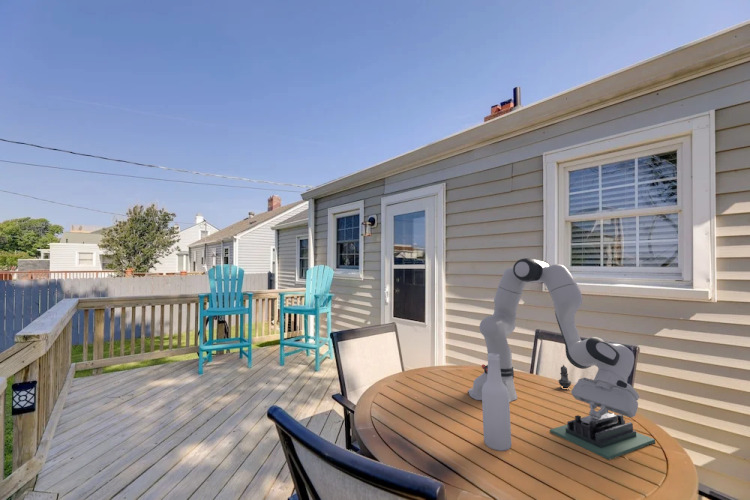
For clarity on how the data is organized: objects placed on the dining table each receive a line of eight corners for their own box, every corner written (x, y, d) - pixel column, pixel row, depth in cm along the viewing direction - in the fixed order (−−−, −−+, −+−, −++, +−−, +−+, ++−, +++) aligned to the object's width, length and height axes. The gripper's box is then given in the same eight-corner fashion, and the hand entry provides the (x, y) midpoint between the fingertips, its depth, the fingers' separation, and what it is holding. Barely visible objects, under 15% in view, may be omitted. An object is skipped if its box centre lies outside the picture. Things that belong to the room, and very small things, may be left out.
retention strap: (609, 415, 116) (609, 411, 116) (618, 418, 113) (618, 415, 113) (580, 421, 109) (580, 417, 109) (589, 424, 107) (589, 421, 107)
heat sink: (600, 422, 120) (598, 404, 121) (636, 435, 109) (634, 416, 110) (565, 432, 112) (564, 413, 113) (601, 448, 101) (599, 427, 102)
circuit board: (594, 419, 125) (594, 416, 125) (655, 442, 107) (654, 439, 107) (550, 432, 114) (549, 429, 114) (609, 460, 96) (608, 456, 96)
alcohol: (500, 454, 100) (496, 358, 103) (478, 443, 107) (474, 353, 110) (517, 447, 104) (512, 355, 108) (494, 436, 112) (490, 350, 115)
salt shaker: (573, 390, 158) (572, 366, 159) (561, 390, 159) (559, 365, 160) (569, 387, 164) (567, 363, 165) (556, 386, 165) (555, 363, 166)
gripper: (576, 371, 124) (561, 401, 119) (636, 386, 105) (622, 422, 100) (584, 381, 125) (570, 411, 120) (645, 398, 107) (631, 434, 102)
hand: (594, 416), depth 110 cm, fingers closed, pressing on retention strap
